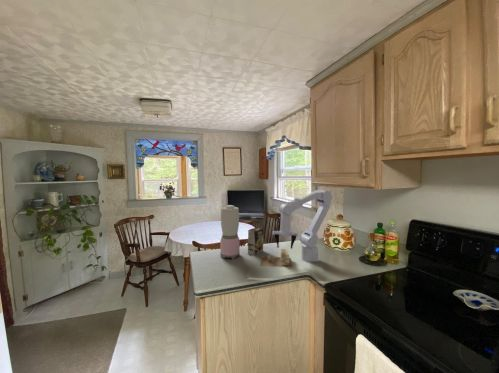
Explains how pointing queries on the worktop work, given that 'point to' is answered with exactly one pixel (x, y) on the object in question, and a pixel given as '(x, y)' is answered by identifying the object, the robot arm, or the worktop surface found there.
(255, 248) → the coffee box
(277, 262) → the base
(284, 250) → the block
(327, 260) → the worktop surface
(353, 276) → the worktop surface
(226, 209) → the blender
